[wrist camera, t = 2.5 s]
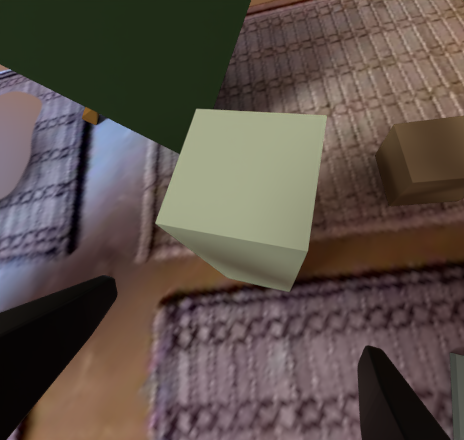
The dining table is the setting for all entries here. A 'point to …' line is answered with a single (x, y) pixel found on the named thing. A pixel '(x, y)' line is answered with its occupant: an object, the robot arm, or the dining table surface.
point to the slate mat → (457, 394)
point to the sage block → (247, 193)
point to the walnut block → (423, 162)
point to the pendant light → (126, 56)
